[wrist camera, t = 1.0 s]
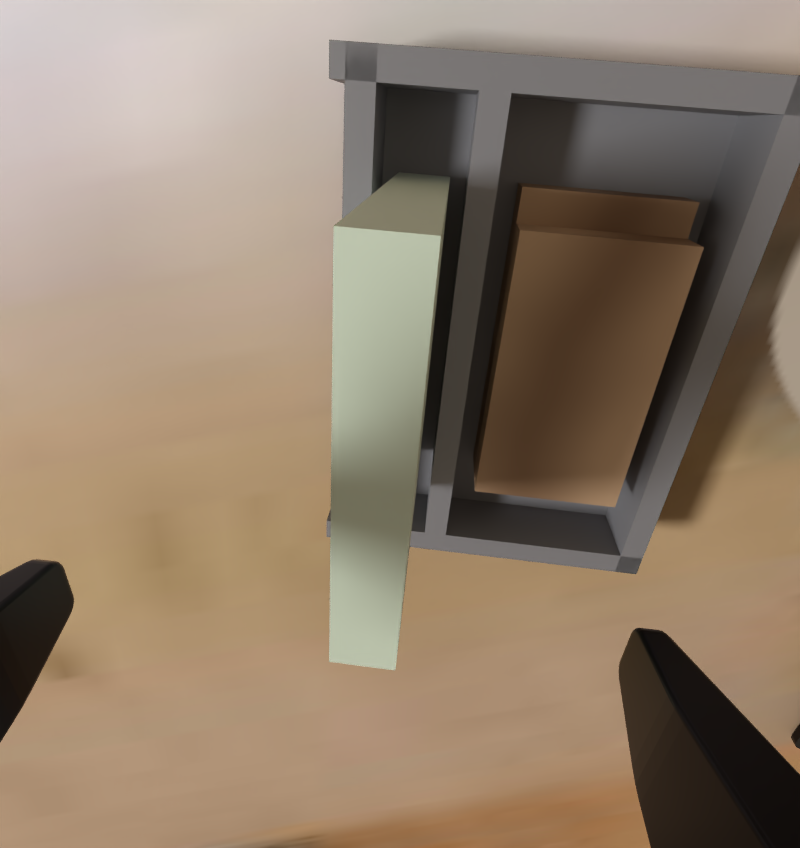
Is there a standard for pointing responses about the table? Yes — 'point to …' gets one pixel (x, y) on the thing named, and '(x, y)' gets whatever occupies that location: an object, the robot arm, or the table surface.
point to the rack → (490, 230)
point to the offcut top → (578, 359)
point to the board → (379, 405)
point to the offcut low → (591, 225)
